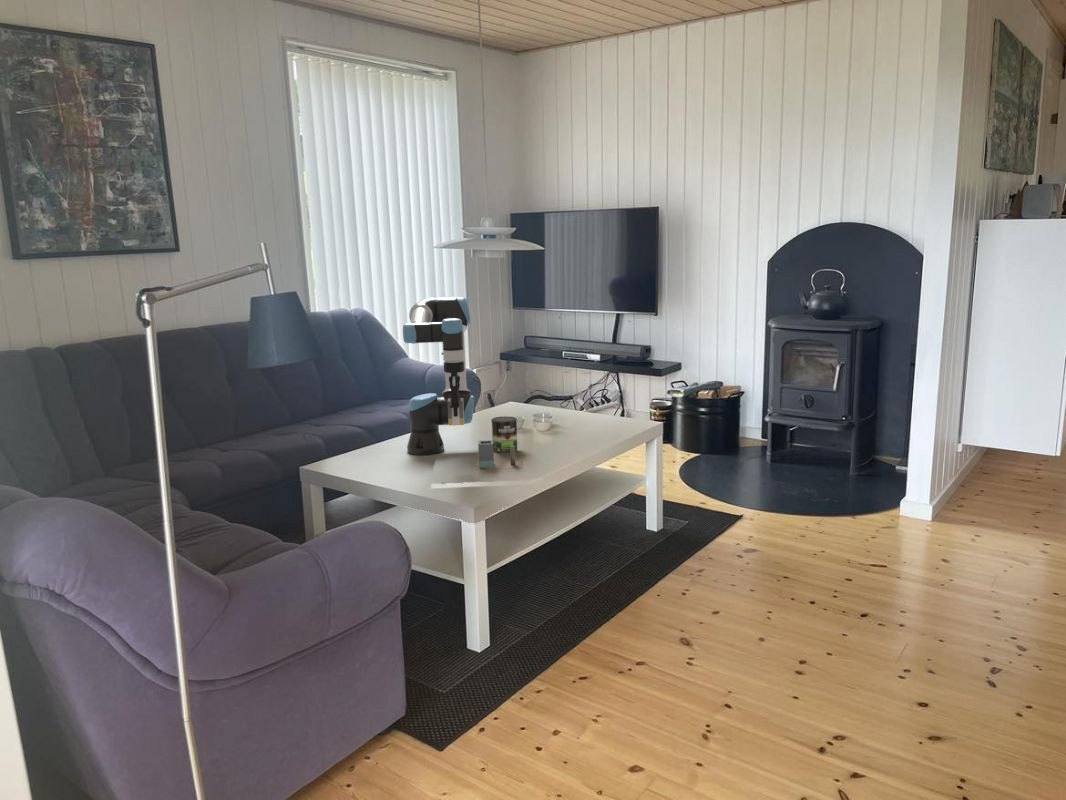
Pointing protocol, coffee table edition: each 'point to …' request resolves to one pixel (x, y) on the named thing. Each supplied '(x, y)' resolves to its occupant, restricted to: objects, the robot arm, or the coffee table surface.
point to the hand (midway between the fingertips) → (456, 422)
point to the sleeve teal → (486, 454)
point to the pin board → (505, 462)
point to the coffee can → (504, 433)
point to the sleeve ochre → (461, 411)
